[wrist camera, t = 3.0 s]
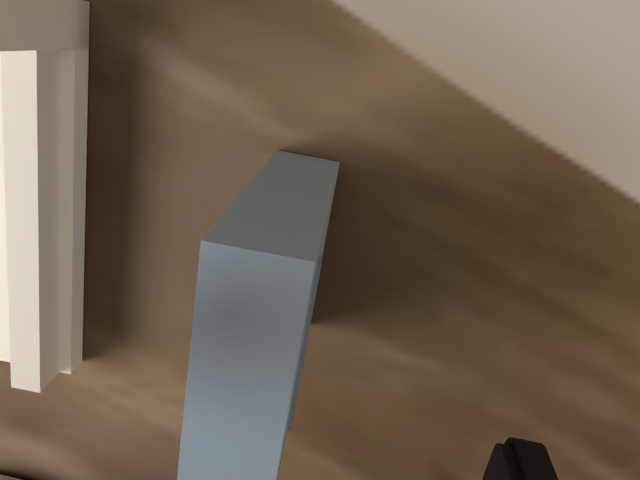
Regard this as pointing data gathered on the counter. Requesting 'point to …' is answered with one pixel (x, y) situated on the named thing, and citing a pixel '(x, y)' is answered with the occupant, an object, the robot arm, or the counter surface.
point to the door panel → (254, 320)
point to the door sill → (42, 186)
